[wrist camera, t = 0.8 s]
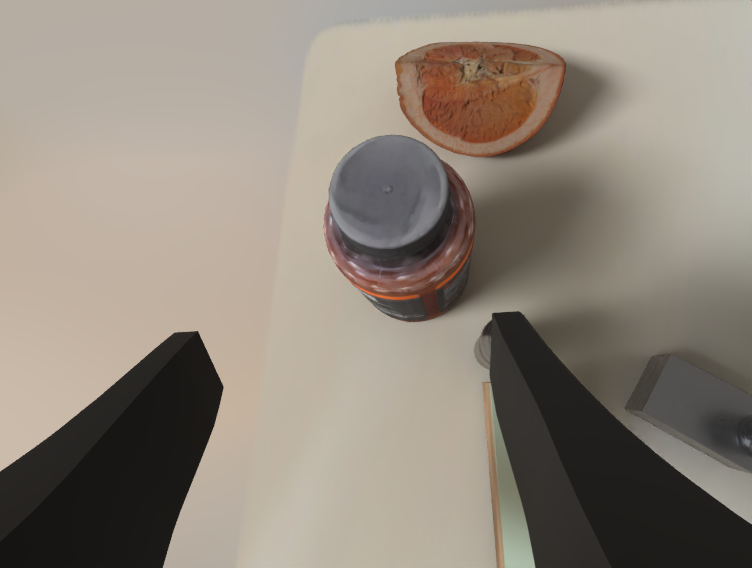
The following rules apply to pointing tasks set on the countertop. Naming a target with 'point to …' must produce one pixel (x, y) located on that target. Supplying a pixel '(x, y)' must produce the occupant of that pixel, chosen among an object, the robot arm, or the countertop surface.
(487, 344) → the hinge pin
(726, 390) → the latch
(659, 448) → the countertop surface
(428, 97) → the fruit slice
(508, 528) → the rail
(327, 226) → the supplement bottle
